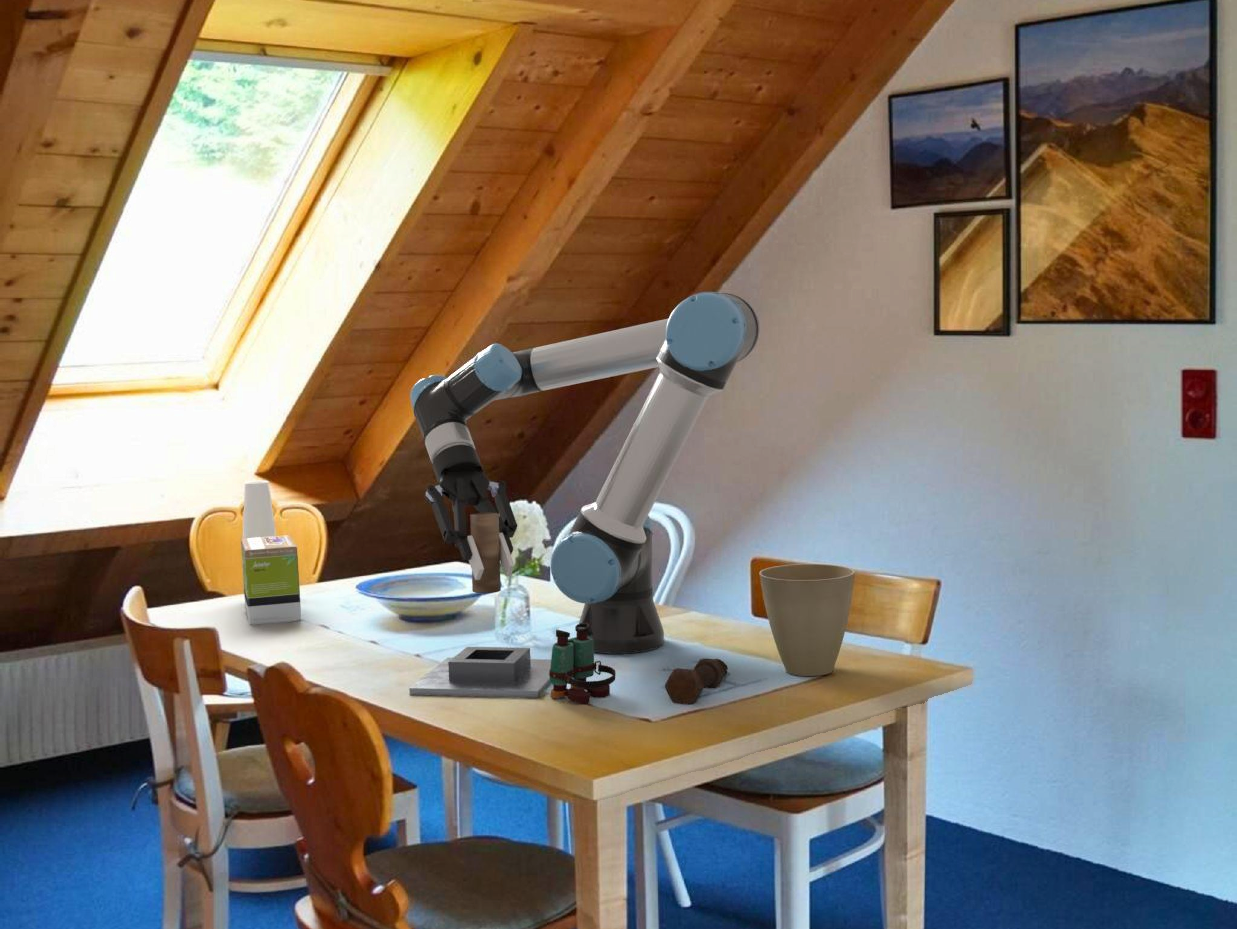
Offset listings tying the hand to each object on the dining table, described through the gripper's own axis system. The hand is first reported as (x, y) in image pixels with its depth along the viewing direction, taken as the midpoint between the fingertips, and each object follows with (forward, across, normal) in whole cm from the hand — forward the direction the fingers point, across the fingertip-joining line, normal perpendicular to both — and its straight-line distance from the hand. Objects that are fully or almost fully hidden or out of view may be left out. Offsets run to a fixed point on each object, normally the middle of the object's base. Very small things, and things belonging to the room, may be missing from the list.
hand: (495, 572), depth 227 cm
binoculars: (+22, -8, -3) cm, 24 cm away
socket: (+10, 0, -15) cm, 18 cm away
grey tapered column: (-53, +15, -79) cm, 96 cm away
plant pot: (+25, -45, 0) cm, 52 cm away
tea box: (-39, +18, -65) cm, 77 cm away
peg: (0, 0, -5) cm, 5 cm away
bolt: (+27, -25, +2) cm, 37 cm away
